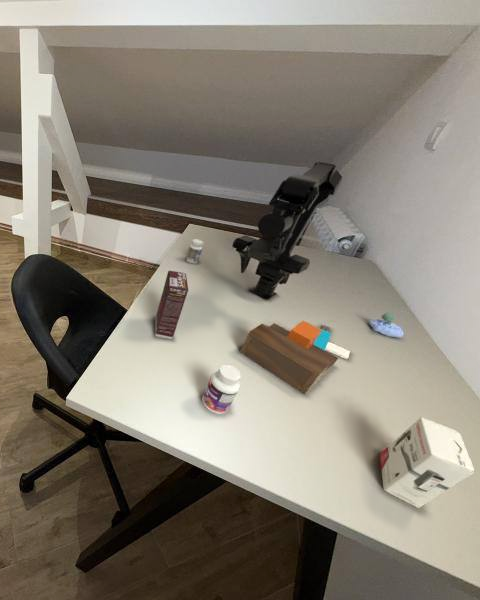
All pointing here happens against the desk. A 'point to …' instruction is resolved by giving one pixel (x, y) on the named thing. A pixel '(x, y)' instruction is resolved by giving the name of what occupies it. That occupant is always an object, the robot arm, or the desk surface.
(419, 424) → the ink box
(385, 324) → the figurine
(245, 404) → the desk surface
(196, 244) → the pill bottle
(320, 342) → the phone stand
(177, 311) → the supplement box
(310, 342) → the orange block
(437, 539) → the desk surface
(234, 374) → the pill bottle
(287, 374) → the step shelf
